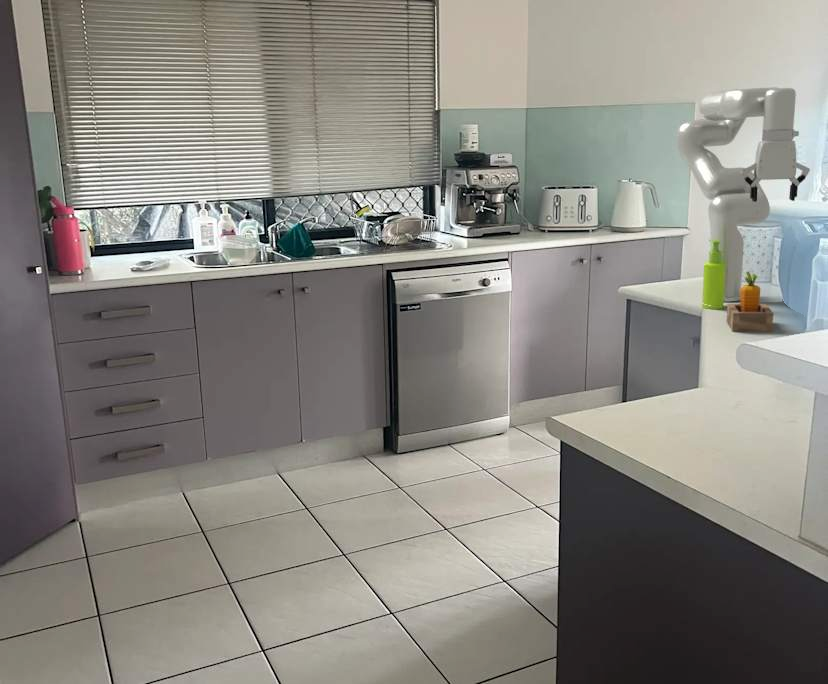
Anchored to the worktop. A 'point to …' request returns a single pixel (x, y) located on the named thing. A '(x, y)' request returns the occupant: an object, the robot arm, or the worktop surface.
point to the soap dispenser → (714, 279)
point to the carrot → (750, 295)
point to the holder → (749, 318)
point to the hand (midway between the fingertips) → (773, 200)
